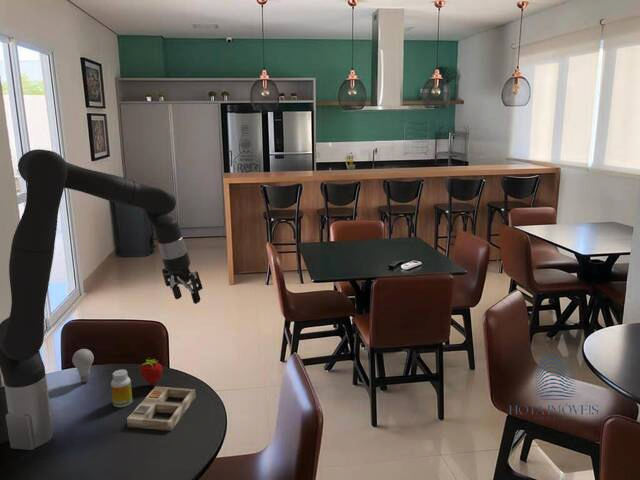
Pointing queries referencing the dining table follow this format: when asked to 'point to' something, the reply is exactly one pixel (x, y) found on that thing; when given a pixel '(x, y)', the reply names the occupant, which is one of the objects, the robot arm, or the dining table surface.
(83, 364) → the lightbulb
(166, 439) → the dining table surface
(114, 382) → the supplement bottle
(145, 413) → the socket plate
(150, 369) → the strawberry
